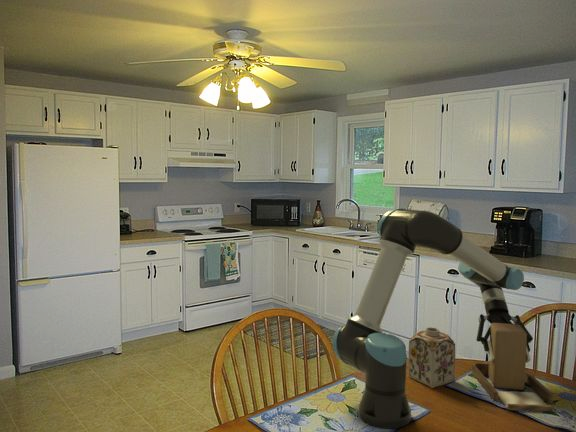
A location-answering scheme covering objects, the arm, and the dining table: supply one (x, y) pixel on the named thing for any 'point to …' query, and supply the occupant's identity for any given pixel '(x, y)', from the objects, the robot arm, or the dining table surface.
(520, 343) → the wooden block
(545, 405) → the bay
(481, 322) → the robot arm
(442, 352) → the decorative jar
